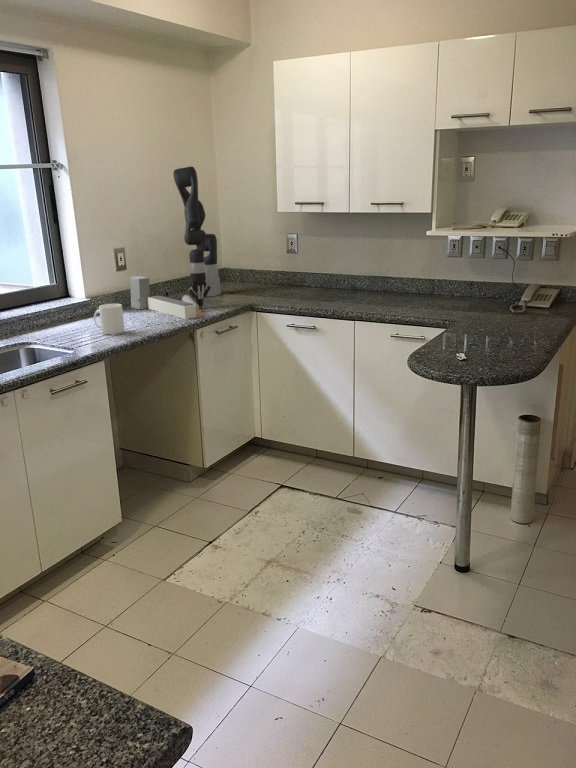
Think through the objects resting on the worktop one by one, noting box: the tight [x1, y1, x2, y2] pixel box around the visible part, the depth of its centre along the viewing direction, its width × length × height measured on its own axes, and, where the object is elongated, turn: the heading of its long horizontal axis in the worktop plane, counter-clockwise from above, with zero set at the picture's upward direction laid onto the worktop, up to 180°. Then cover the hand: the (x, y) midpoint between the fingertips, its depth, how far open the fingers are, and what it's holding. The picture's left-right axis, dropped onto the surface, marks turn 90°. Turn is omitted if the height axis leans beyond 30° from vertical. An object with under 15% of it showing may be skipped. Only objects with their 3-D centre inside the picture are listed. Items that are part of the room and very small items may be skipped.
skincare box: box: [129, 275, 151, 310], centre depth 329 cm, size 8×7×16 cm
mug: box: [93, 303, 125, 335], centre depth 278 cm, size 10×12×12 cm
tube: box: [181, 294, 200, 311], centre depth 326 cm, size 5×5×25 cm
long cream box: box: [148, 294, 203, 320], centre depth 316 cm, size 9×36×6 cm, turn 39°
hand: (200, 306), depth 326 cm, fingers closed
